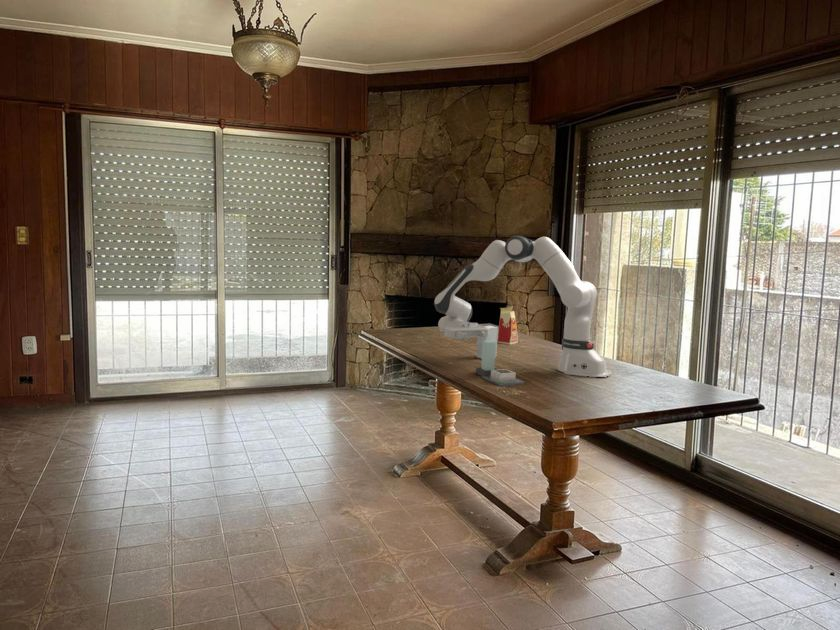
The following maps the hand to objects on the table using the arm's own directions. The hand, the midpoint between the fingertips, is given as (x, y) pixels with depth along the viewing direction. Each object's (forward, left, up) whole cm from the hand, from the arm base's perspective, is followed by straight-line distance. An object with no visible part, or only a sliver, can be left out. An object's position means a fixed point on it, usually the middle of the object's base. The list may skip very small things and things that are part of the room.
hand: (474, 335), depth 274 cm
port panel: (-21, +13, -15) cm, 28 cm away
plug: (-11, +7, -15) cm, 19 cm away
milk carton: (+17, -70, -15) cm, 74 cm away
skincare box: (+6, -25, -15) cm, 30 cm away
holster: (-11, +7, -15) cm, 19 cm away
